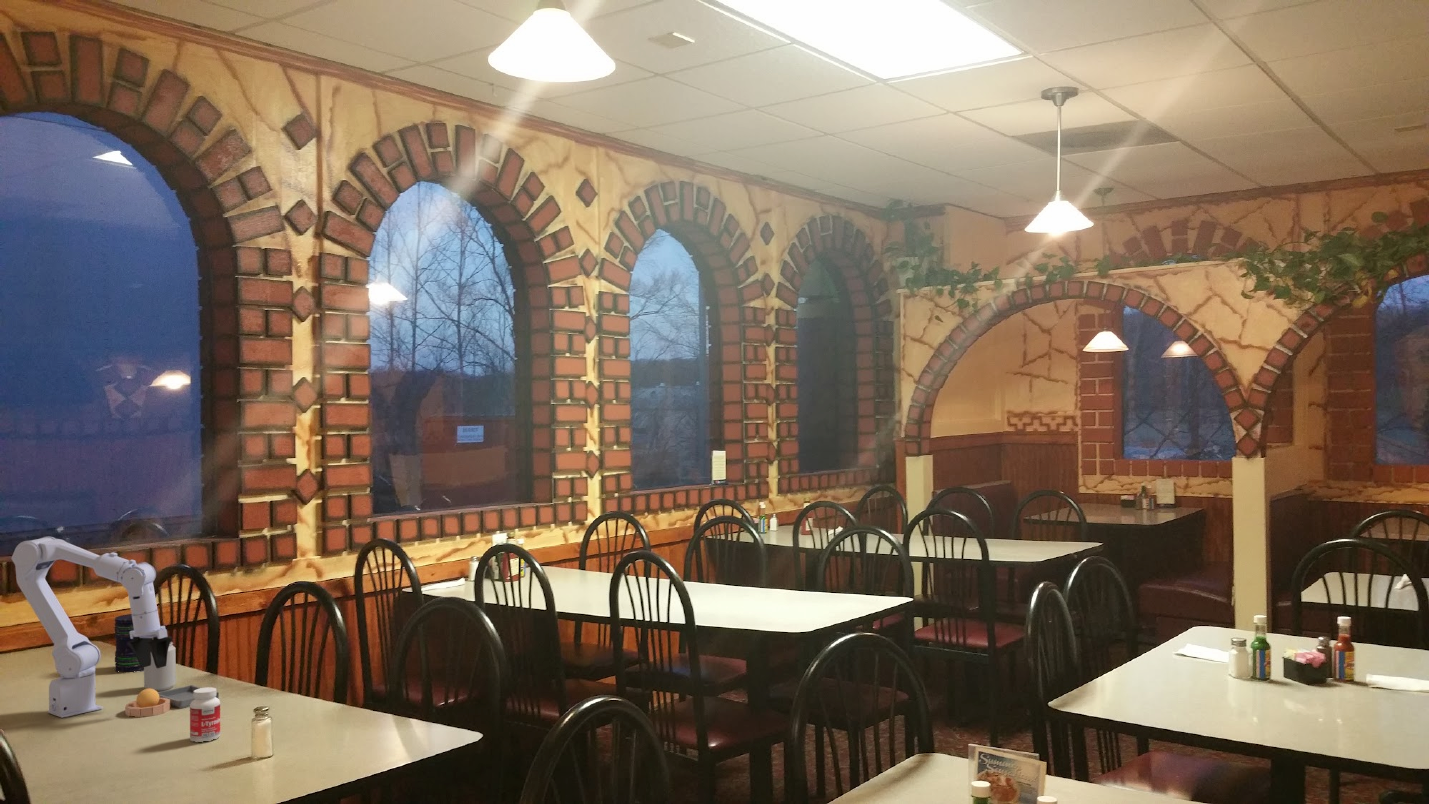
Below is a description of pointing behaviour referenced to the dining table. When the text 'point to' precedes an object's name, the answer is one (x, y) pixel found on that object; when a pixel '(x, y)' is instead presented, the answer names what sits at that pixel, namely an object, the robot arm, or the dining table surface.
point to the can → (161, 673)
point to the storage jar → (125, 645)
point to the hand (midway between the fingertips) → (153, 666)
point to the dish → (147, 708)
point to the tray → (181, 696)
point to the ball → (147, 698)
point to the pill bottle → (204, 715)
